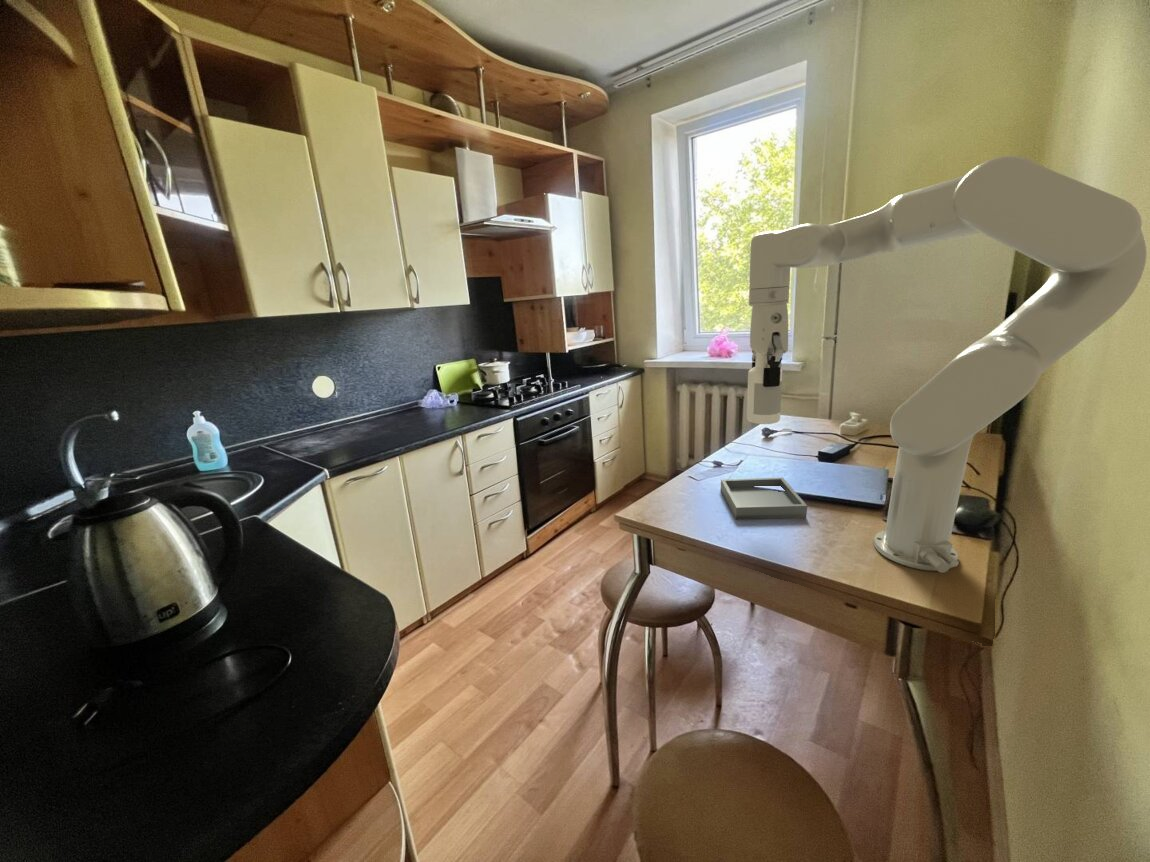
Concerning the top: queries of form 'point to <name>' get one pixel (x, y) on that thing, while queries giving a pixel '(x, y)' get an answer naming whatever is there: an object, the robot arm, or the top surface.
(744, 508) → the tray
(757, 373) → the spray bottle
